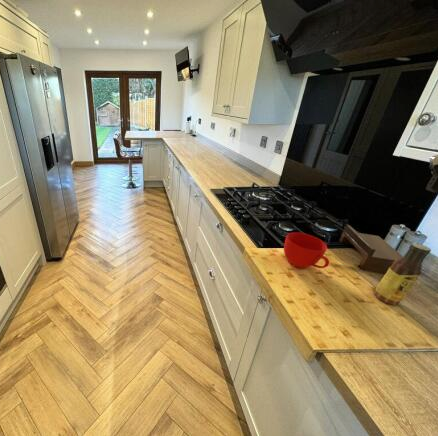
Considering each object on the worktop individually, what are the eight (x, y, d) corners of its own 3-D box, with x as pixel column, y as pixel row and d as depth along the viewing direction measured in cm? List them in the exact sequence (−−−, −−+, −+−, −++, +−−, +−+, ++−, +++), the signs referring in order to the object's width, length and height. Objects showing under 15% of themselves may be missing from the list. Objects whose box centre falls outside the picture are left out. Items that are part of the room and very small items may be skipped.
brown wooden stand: (371, 248, 103) (382, 229, 99) (401, 277, 86) (416, 256, 82) (337, 243, 106) (346, 224, 102) (360, 270, 89) (372, 249, 85)
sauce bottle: (390, 307, 72) (427, 254, 63) (368, 293, 77) (399, 242, 69) (404, 303, 74) (442, 251, 65) (382, 290, 79) (414, 239, 70)
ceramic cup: (304, 283, 81) (314, 259, 76) (271, 254, 95) (279, 233, 91) (335, 279, 83) (347, 256, 79) (298, 252, 98) (307, 231, 93)
